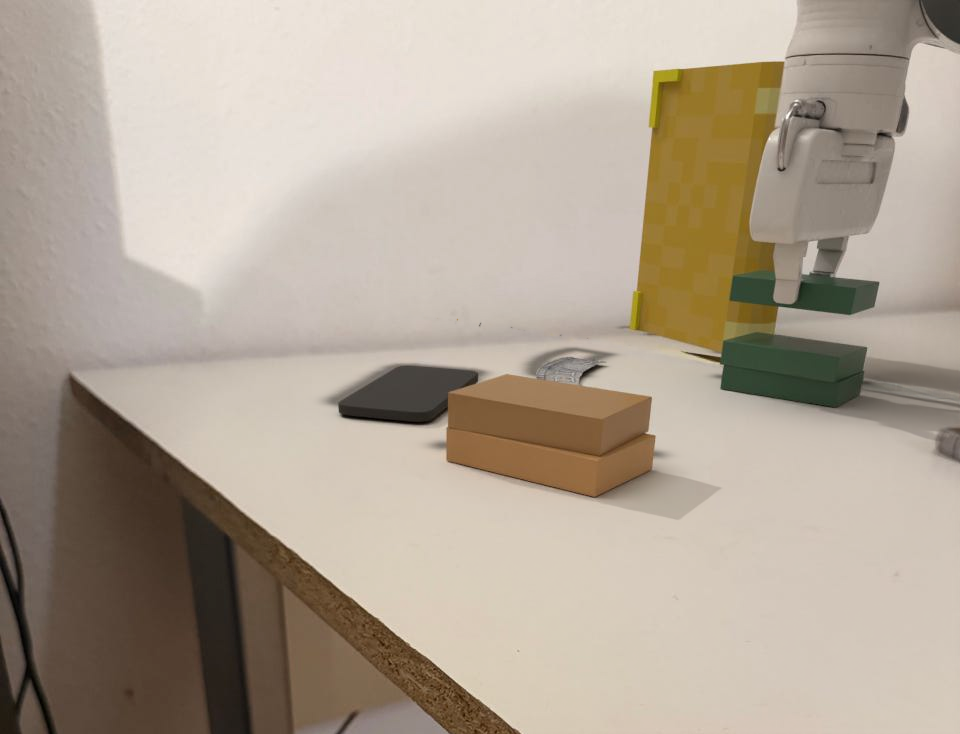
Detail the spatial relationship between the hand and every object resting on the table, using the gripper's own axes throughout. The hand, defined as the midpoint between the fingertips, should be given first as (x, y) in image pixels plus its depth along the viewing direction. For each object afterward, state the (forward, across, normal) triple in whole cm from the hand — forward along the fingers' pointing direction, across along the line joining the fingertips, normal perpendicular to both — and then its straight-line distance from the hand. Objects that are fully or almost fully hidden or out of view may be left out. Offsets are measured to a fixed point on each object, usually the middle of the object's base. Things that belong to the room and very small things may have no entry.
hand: (803, 298), depth 78 cm
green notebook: (0, 0, 0) cm, 0 cm away
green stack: (+8, 0, 0) cm, 8 cm away
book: (+8, +13, +14) cm, 21 cm away
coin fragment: (+8, -7, +18) cm, 21 cm away
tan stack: (+8, -32, +4) cm, 33 cm away
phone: (+8, -24, +22) cm, 33 cm away
